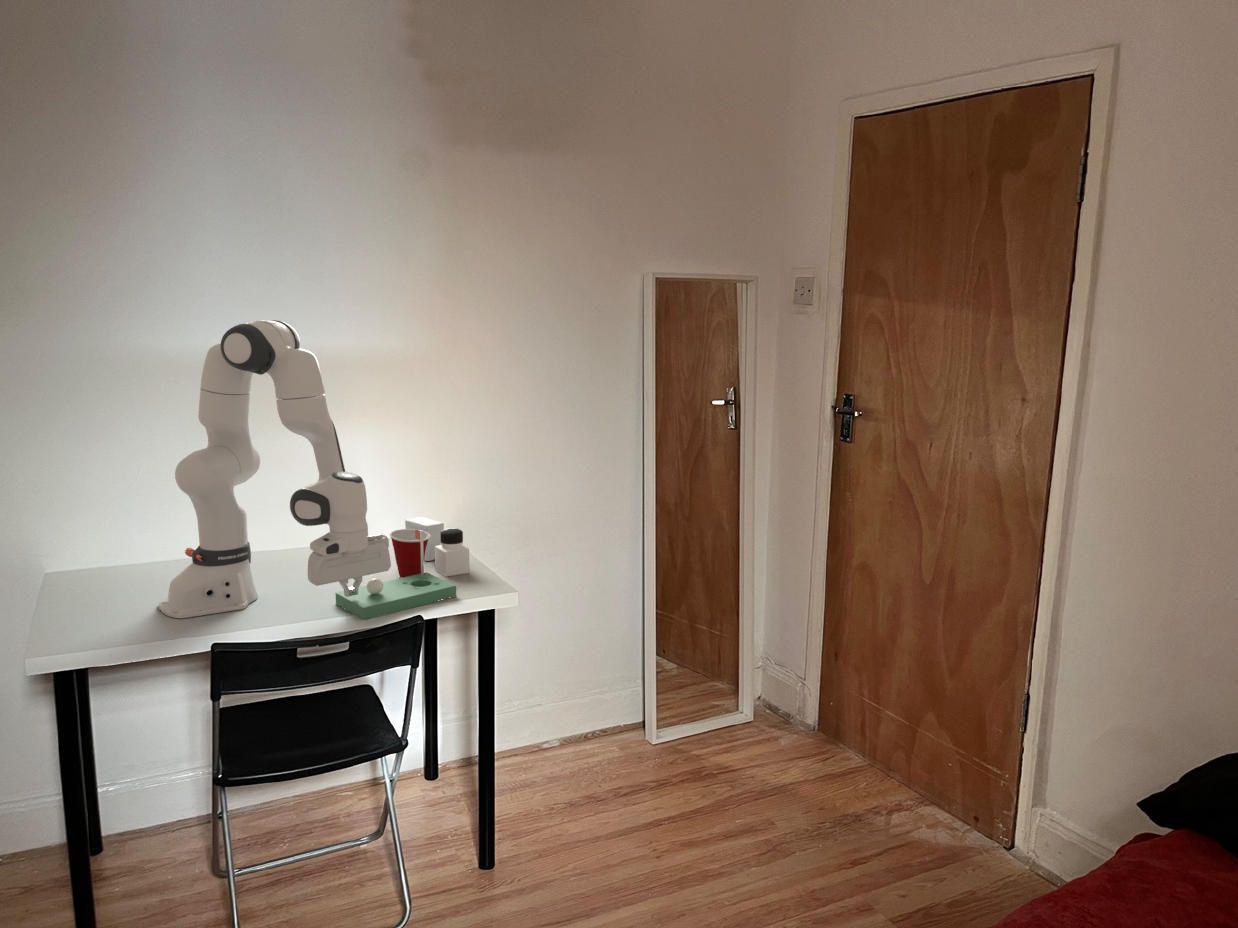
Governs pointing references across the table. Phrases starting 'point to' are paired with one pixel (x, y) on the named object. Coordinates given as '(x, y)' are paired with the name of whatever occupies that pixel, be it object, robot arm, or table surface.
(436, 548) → the medicine bottle
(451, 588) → the putting deck
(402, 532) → the plastic cup
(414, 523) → the skincare box
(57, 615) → the table surface
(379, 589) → the ball
